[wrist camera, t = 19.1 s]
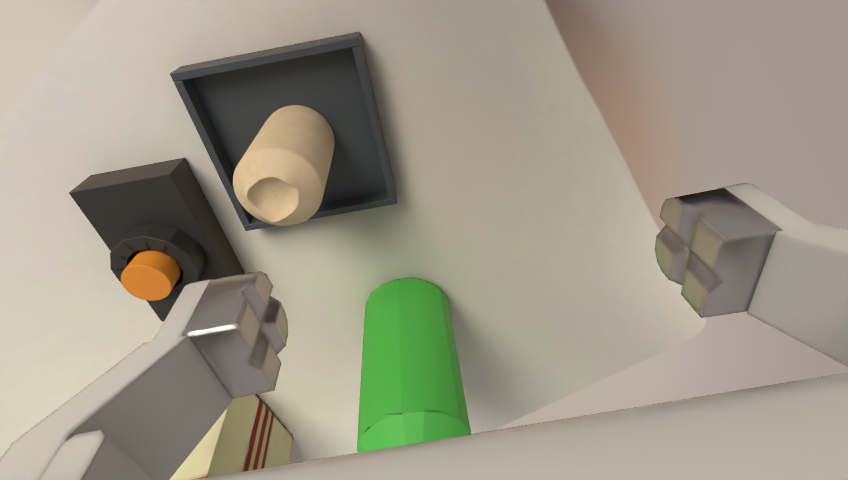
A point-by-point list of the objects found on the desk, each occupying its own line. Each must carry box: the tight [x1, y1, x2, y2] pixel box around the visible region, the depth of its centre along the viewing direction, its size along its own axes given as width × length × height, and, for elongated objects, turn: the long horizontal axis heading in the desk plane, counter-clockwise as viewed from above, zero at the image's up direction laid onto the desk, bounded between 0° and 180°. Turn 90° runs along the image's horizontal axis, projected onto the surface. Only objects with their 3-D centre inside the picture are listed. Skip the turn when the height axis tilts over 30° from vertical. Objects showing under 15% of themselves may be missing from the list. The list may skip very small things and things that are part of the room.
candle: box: [233, 105, 335, 226], centre depth 31 cm, size 6×6×10 cm
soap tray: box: [170, 32, 397, 231], centre depth 34 cm, size 13×13×2 cm
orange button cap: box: [121, 250, 181, 301], centre depth 35 cm, size 4×4×2 cm
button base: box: [69, 158, 245, 321], centre depth 37 cm, size 14×8×5 cm, turn 9°
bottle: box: [357, 278, 471, 453], centre depth 36 cm, size 9×9×25 cm
